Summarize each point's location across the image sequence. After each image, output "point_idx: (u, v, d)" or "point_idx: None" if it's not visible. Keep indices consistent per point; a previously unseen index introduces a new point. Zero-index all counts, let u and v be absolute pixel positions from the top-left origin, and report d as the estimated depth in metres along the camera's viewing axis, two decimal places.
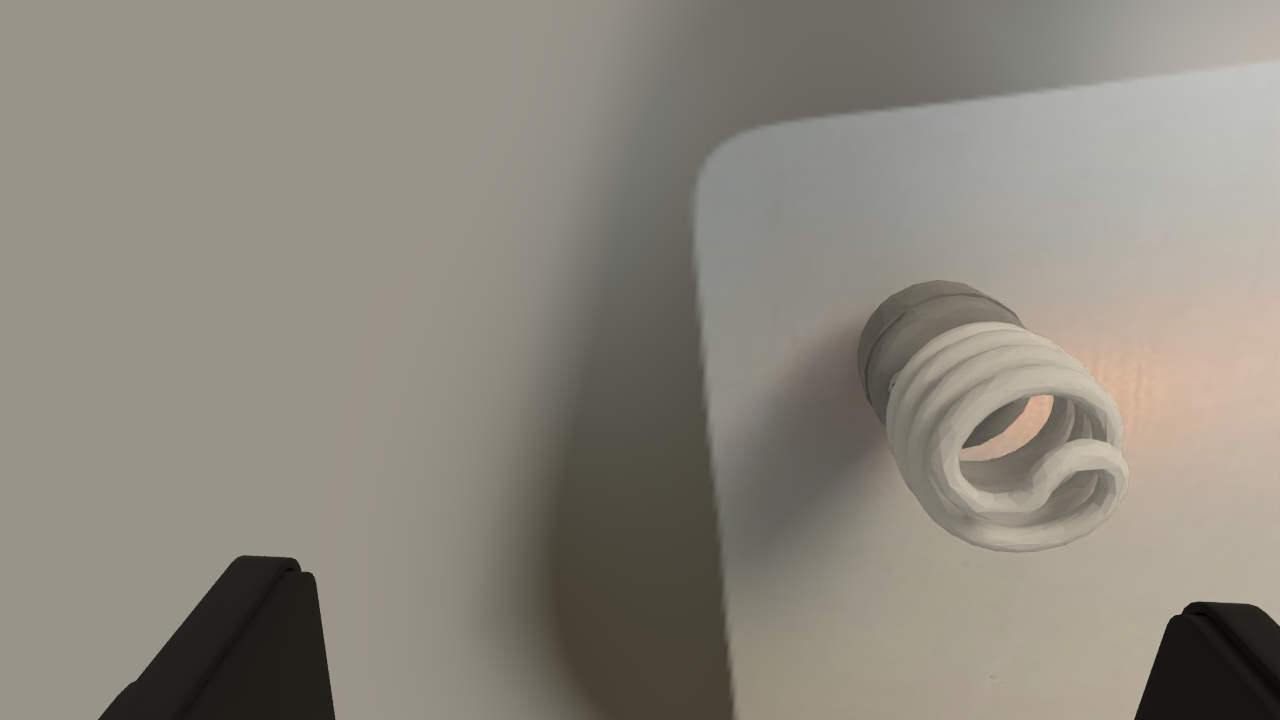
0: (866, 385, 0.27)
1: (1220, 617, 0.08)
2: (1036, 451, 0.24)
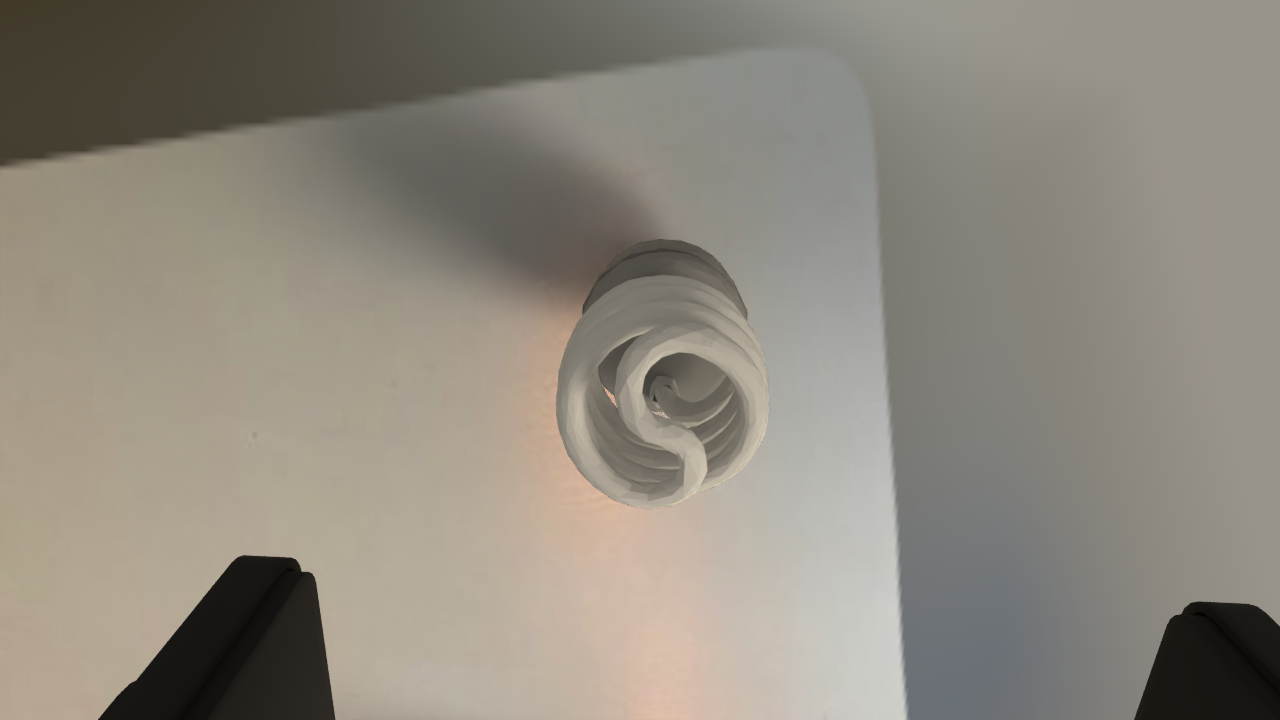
0: (644, 252, 0.25)
1: (1220, 617, 0.08)
2: (624, 424, 0.24)
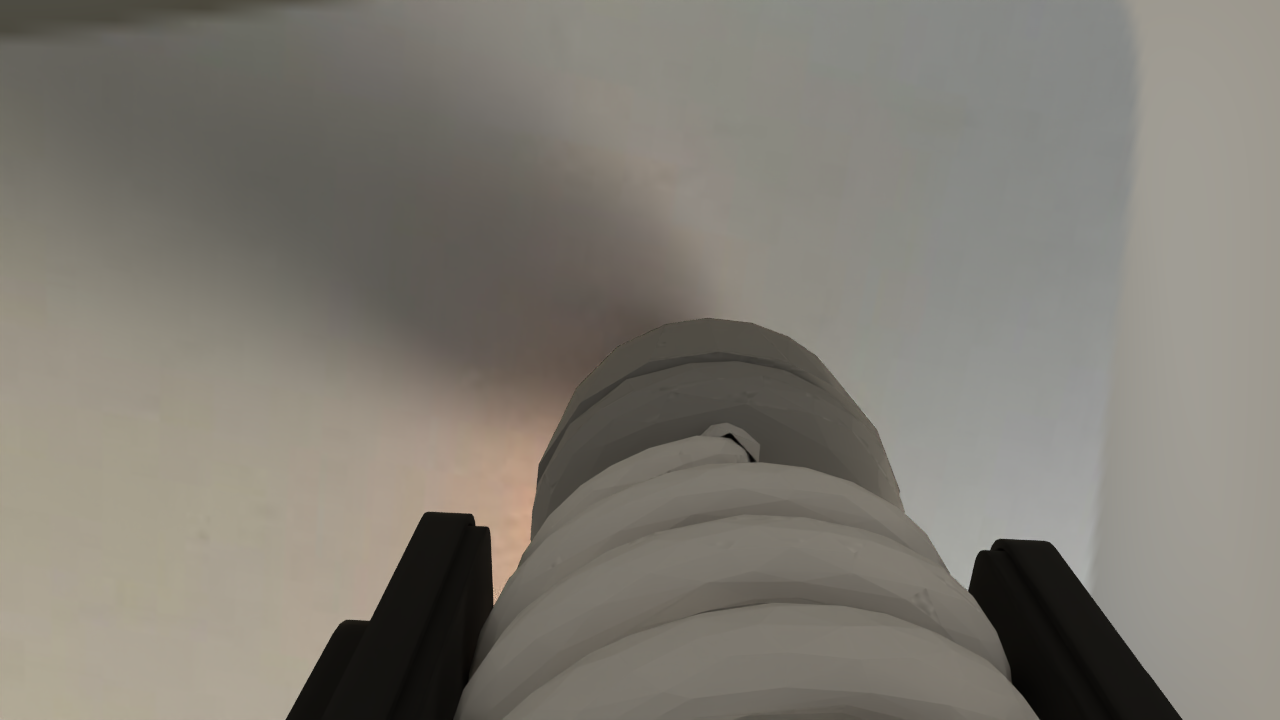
0: (680, 358, 0.11)
1: (1013, 550, 0.09)
2: None
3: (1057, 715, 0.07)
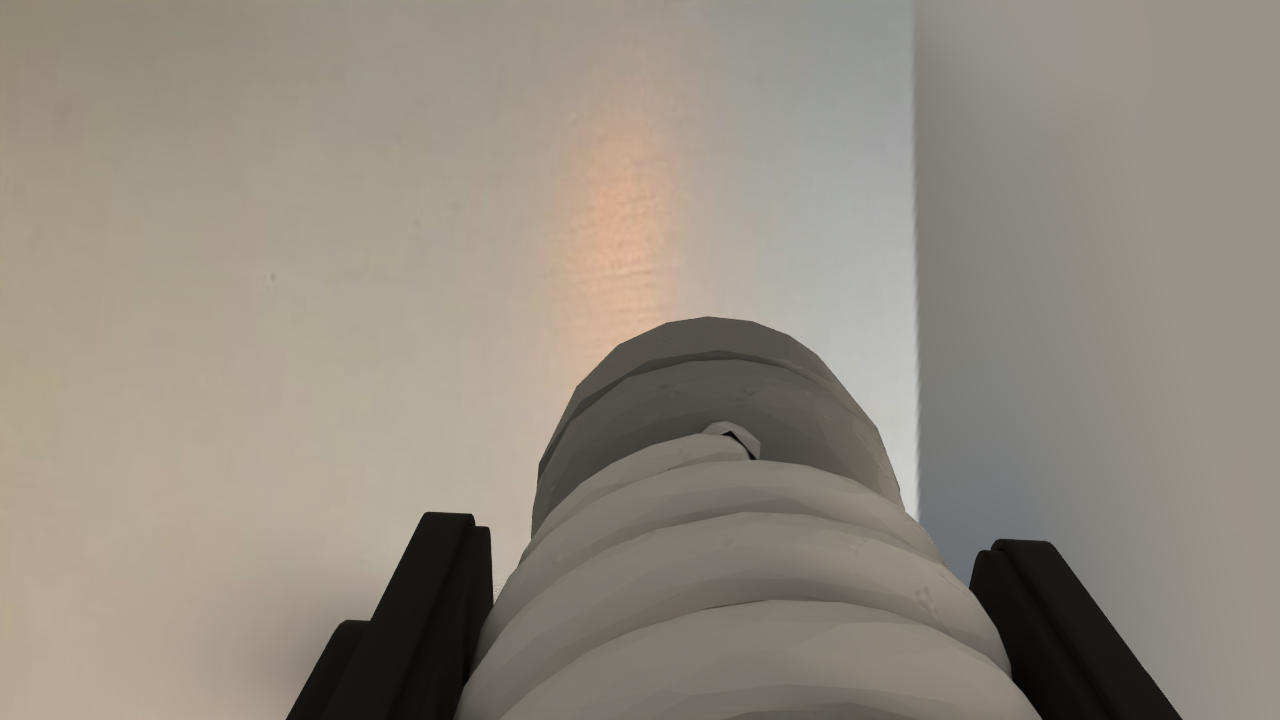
0: (682, 356, 0.11)
1: (1012, 550, 0.09)
2: None
3: (1057, 715, 0.07)
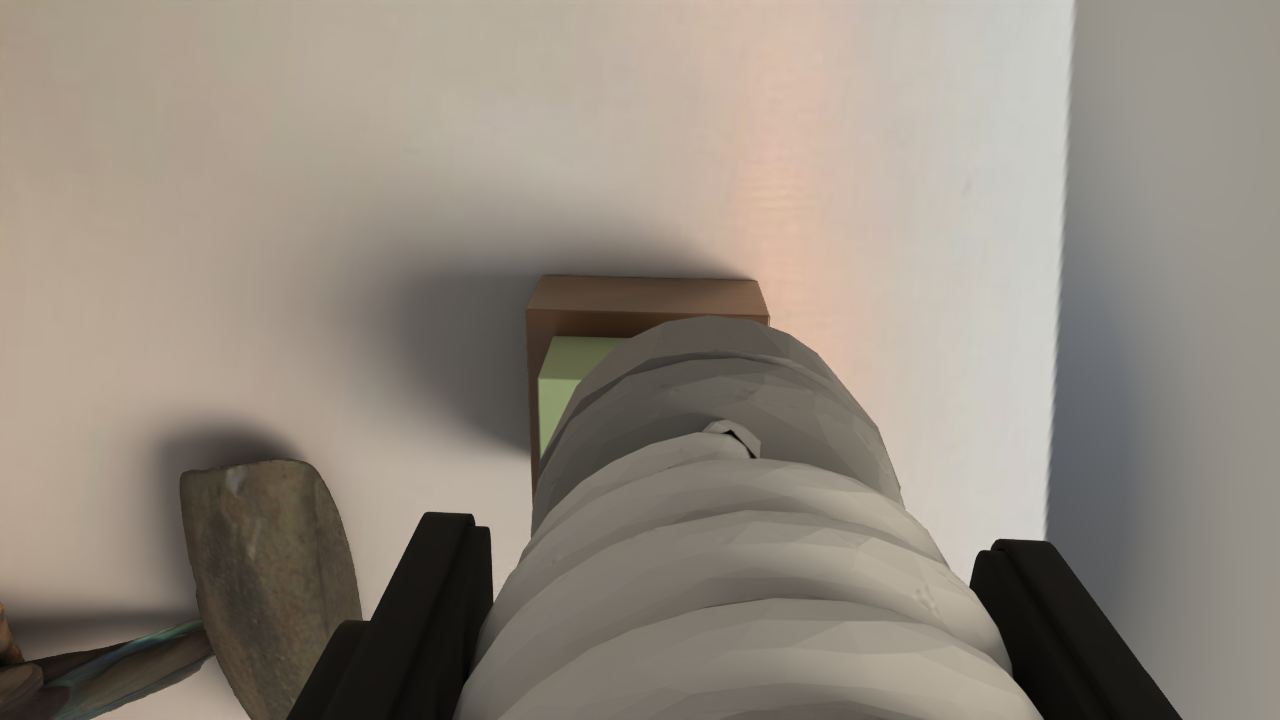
0: (682, 355, 0.11)
1: (1012, 550, 0.09)
2: None
3: (1057, 715, 0.07)
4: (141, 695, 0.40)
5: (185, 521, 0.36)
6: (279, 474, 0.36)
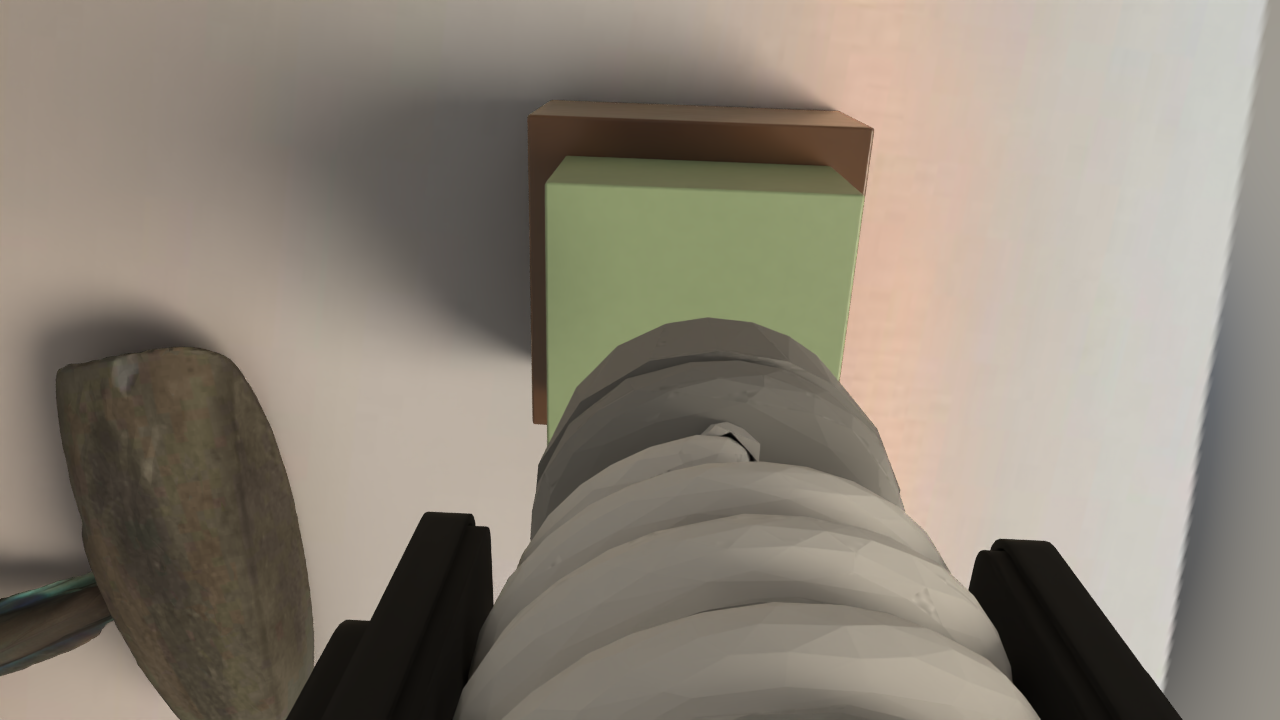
0: (681, 357, 0.11)
1: (1012, 550, 0.09)
2: None
3: (1056, 715, 0.07)
4: (20, 666, 0.31)
5: (62, 433, 0.28)
6: (183, 368, 0.27)
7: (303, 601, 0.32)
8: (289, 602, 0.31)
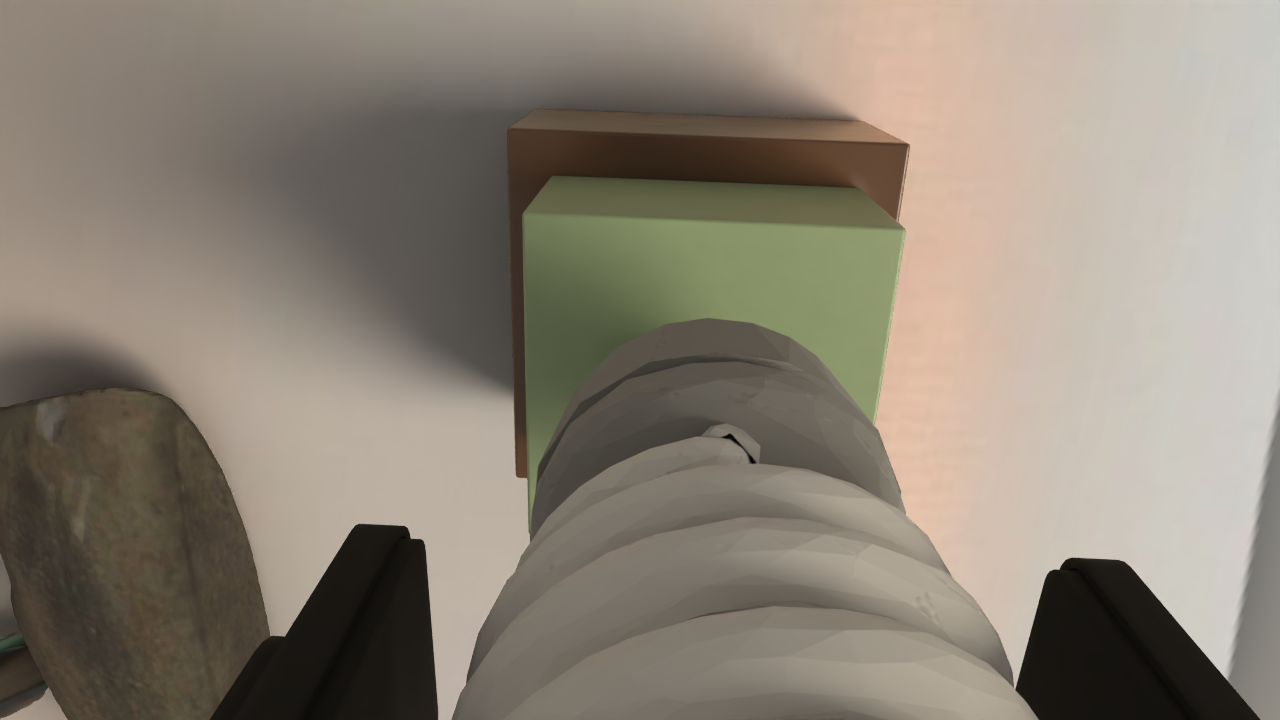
0: (680, 358, 0.11)
1: (1088, 570, 0.09)
2: None
3: None
4: None
5: None
6: (117, 411, 0.24)
7: None
8: None
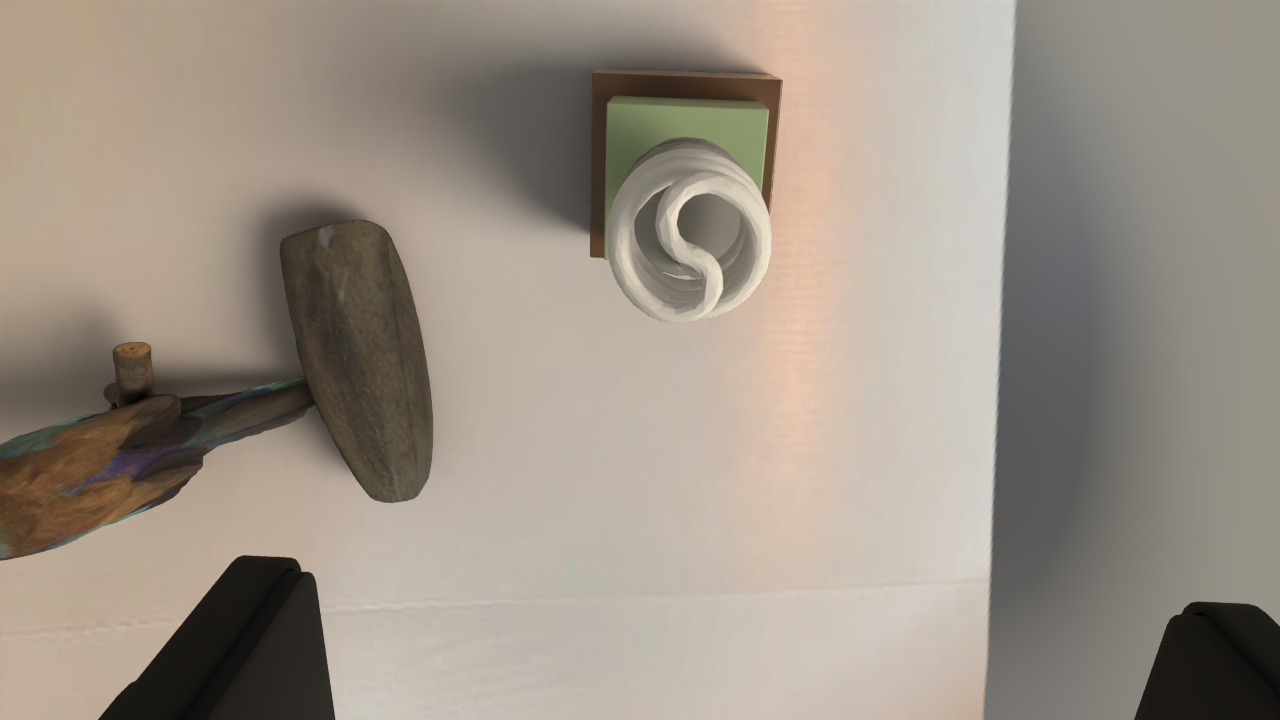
0: (673, 141, 0.32)
1: (1220, 617, 0.08)
2: (654, 273, 0.30)
3: None
4: (257, 431, 0.48)
5: (286, 278, 0.45)
6: (360, 232, 0.44)
7: (427, 395, 0.49)
8: (420, 391, 0.48)
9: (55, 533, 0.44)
